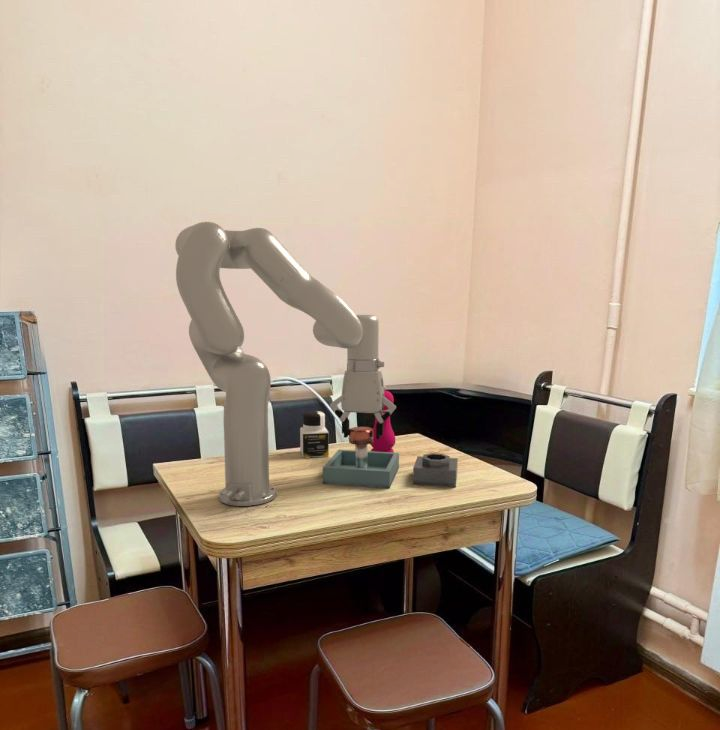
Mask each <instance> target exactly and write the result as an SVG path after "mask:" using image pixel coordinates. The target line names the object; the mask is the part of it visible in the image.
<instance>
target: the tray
mask: <svg viewBox="0 0 720 730" xmlns="http://www.w3.org/2000/svg"><path fill="white" fill-rule="evenodd" d="M367 452H368V469H366V468H356V458H355V450H354V449H353V450H352V449H339V448H338V450H336V452H335V453H334V454H333V455H332V457H330V458H329V460H328V461H327V462H326V463H325V464H324V466H322V484H324V485H335V486H336V485H337V486H339V485H340V486H351V487H366V488H367V487H368V488H379V489H390V488H391V486H392V484H393V482H394V480H395V477H396V475H397V474H398V471H399V468H400V452H394V453H392V452H374V451H371V450H367Z"/></svg>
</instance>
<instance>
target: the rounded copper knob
mask: <svg viewBox="0 0 720 730" xmlns="http://www.w3.org/2000/svg"><path fill="white" fill-rule="evenodd" d="M348 442H349V444H351V445H354V446H355V458H356V468H366V469H368V452H367V451H368V445H370V443H373V428H372V427H369V426H355V427H354V426H353V427H351V428H350V427H349V436H348Z"/></svg>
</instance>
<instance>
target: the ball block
mask: <svg viewBox="0 0 720 730" xmlns="http://www.w3.org/2000/svg"><path fill="white" fill-rule="evenodd" d="M458 460H459V458H454V457H451V456H450V455H447V454H444V453H438V452H437V453H435V452H434V453H433V452H431V453H426V454H423V455H422V456H421V455H418V456H417V457H416V460H415V462H414V465H413V467H412V468H413V469H412V470H413V471H412V484H413V485H419V486H422V485H423V486H434V487H446V486H447V487H450V488H456V487H457V480H458V462H459V461H458ZM447 487H446V488H447Z"/></svg>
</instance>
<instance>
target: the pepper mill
mask: <svg viewBox="0 0 720 730" xmlns="http://www.w3.org/2000/svg"><path fill="white" fill-rule="evenodd" d="M383 385H384V397H386V398H387V399H388V400H389V401H391V402H392V403H393V404H394V401H395V400H394V395H393V394H392V393H391V392H390V391H389V390H387V386H386V385H385V384H383ZM388 409H389V408H388V407H387V406H386V405H385V404H384V408H383V409H382V410H381V412H382V413H383V415H384V414H385V413H386V412H387V411H388ZM374 418H375V419H374V425H373V428H372V429H373V443H370V444H369V445H370V446H371V447H372V448H371V450H370V451H374V452H392V453H395V451H394V449H393V447H394V446H395V444H396V436H395V432H394V430H393V427H392V424H391V415H390V416H389V417H388V418H387V419H386V420H385V421H384V422H383V435H381V437H380V439H376V424H377V422H378V420H377V418H376V416H375V415H374Z"/></svg>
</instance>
